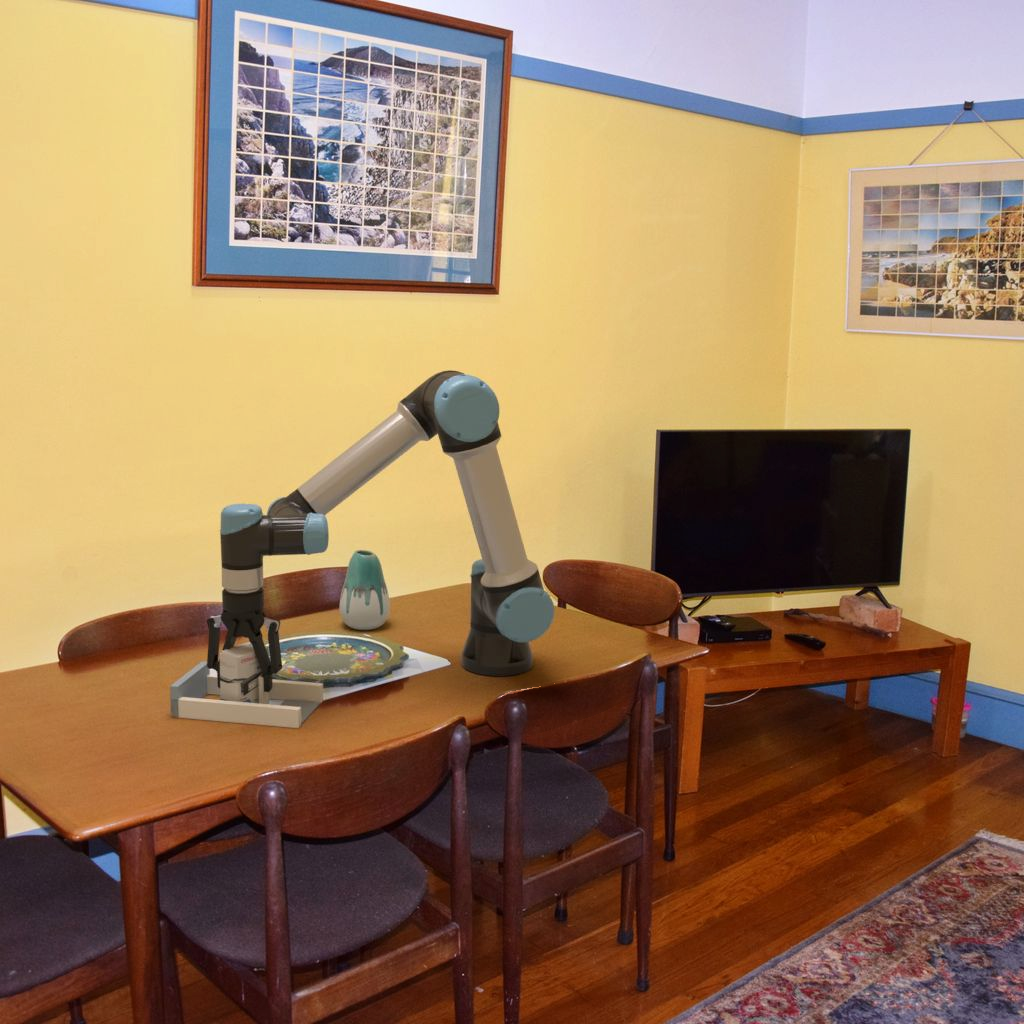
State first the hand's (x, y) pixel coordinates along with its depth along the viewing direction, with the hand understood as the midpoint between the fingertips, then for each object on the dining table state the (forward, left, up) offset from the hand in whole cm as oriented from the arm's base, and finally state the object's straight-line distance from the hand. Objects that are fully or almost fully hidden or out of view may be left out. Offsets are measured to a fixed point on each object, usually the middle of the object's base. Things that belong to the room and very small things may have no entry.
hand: (245, 705), depth 228 cm
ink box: (0, 0, -1) cm, 1 cm away
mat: (-9, 0, -1) cm, 9 cm away
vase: (-7, -56, -1) cm, 56 cm away
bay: (-1, 0, -1) cm, 1 cm away
